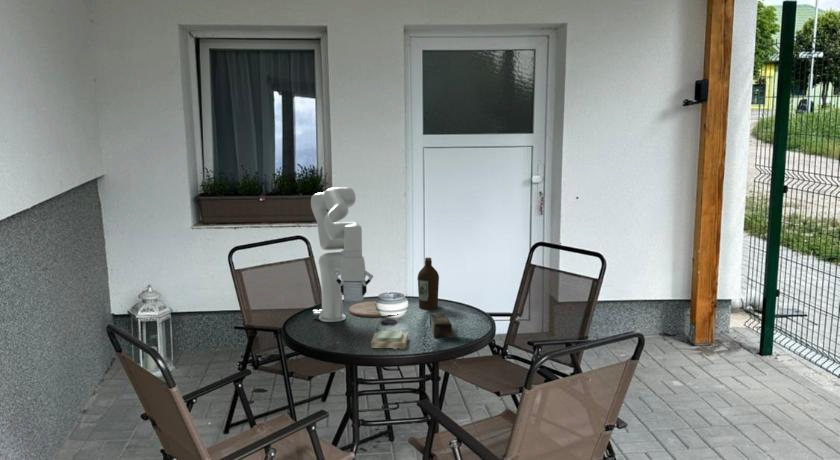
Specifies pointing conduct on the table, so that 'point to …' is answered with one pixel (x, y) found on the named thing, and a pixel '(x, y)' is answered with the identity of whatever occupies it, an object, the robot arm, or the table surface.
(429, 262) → the olive oil
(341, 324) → the table surface
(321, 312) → the robot arm
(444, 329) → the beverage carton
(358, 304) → the trivet
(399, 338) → the plinth
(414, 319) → the table surface
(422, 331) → the table surface
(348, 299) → the medicine box
